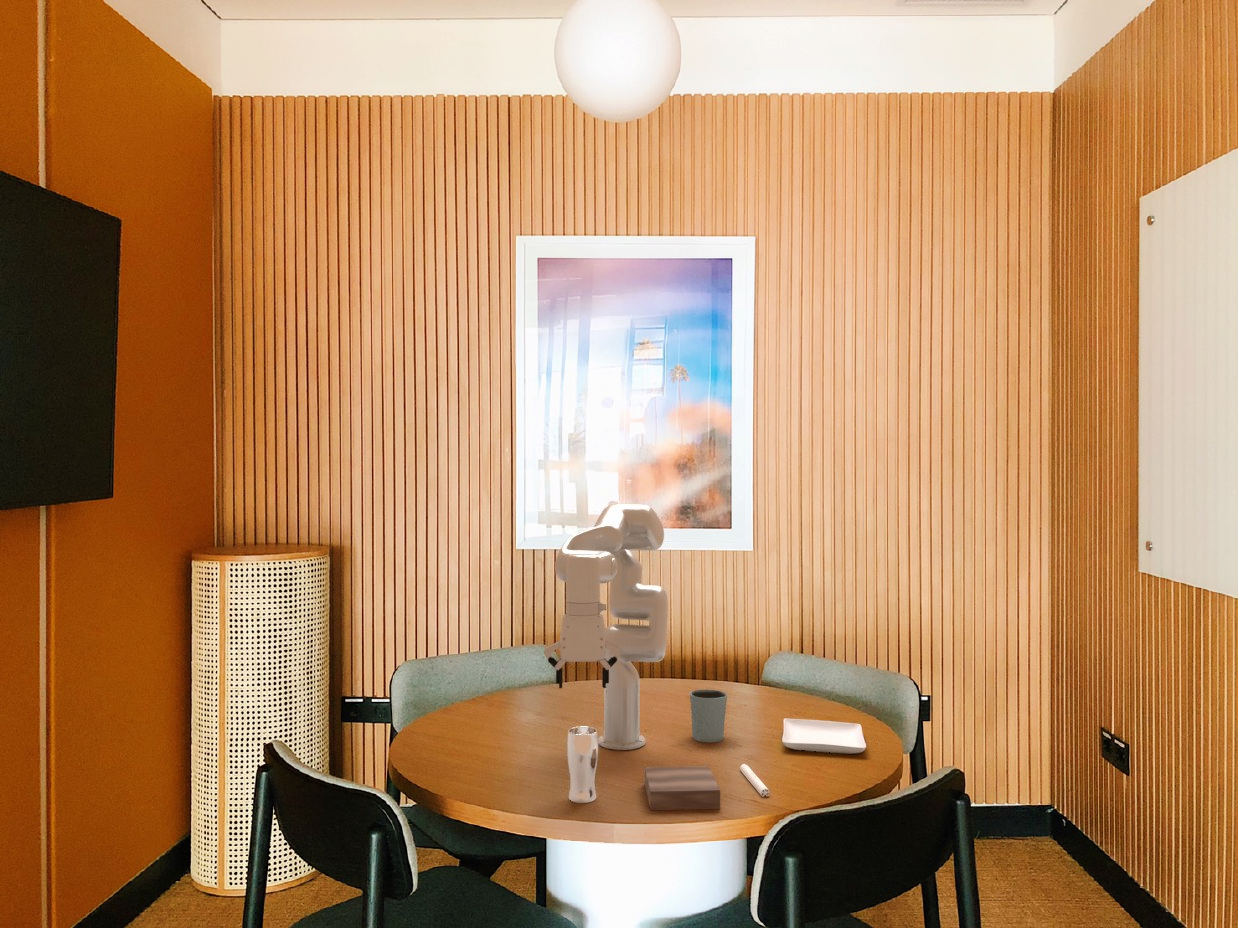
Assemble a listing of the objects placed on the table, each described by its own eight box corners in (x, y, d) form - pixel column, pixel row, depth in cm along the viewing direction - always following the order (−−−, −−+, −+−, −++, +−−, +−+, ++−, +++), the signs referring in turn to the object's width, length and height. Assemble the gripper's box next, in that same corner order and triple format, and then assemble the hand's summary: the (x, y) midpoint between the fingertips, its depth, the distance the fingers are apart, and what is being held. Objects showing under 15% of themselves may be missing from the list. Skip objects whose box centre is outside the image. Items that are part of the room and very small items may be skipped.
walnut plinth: (644, 784, 196) (644, 767, 196) (708, 783, 197) (708, 766, 197) (650, 810, 181) (650, 791, 181) (720, 808, 182) (720, 790, 182)
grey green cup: (683, 739, 230) (684, 695, 230) (698, 729, 239) (698, 687, 239) (719, 745, 225) (719, 700, 225) (732, 735, 234) (732, 691, 234)
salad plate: (867, 759, 215) (867, 746, 215) (782, 754, 219) (782, 740, 219) (860, 734, 236) (860, 722, 236) (783, 729, 240) (783, 717, 240)
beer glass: (598, 792, 192) (598, 725, 192) (598, 804, 185) (598, 735, 185) (567, 792, 191) (567, 725, 192) (566, 804, 184) (566, 735, 185)
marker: (737, 770, 207) (737, 760, 207) (746, 769, 207) (746, 760, 207) (760, 798, 189) (760, 787, 189) (769, 797, 189) (770, 787, 189)
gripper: (620, 607, 193) (620, 682, 192) (544, 607, 192) (543, 683, 191) (622, 611, 185) (622, 690, 185) (543, 612, 184) (542, 691, 184)
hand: (582, 686), depth 188 cm, fingers open, 9 cm apart
